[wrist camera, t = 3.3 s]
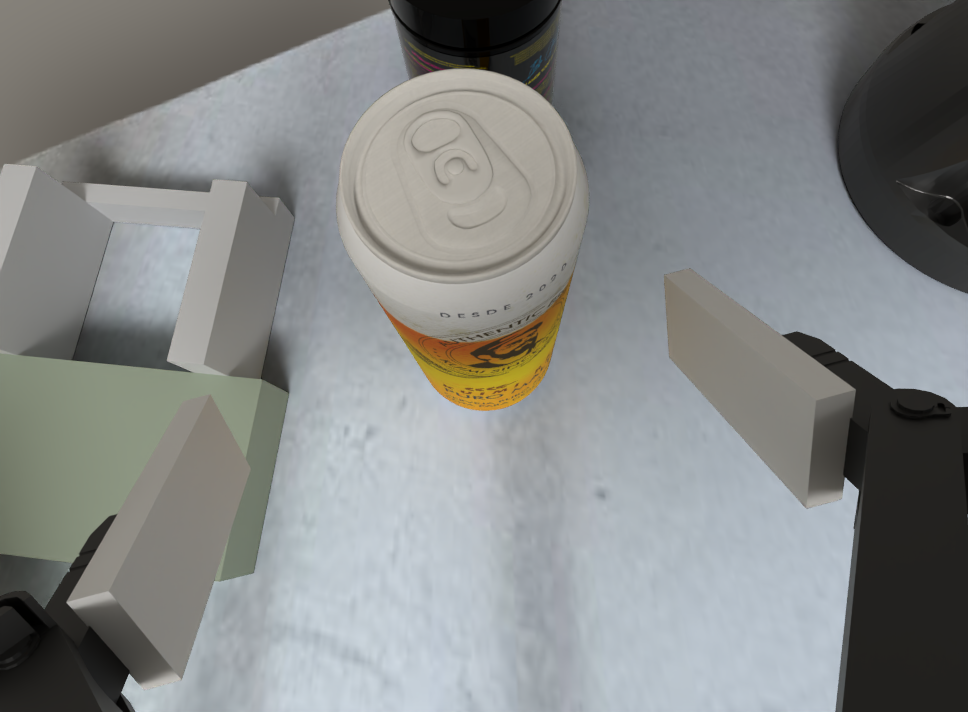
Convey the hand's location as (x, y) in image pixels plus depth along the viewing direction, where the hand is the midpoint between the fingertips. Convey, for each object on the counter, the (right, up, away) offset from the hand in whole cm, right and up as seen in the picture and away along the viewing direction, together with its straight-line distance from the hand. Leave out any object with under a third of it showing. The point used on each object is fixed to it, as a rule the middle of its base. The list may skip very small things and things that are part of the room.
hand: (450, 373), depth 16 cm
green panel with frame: (-15, 0, +11) cm, 19 cm away
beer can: (+1, +1, +11) cm, 11 cm away
